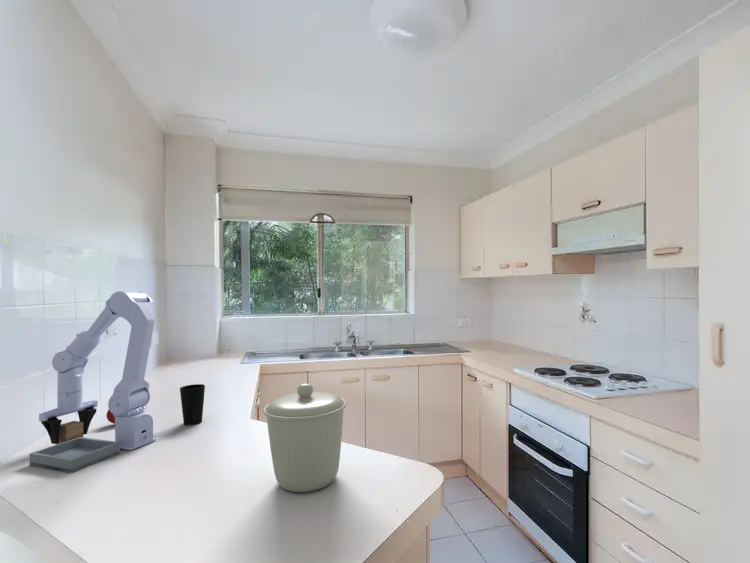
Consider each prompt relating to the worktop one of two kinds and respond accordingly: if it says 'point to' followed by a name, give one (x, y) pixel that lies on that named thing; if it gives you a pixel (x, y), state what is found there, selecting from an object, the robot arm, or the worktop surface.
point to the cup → (192, 403)
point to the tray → (74, 454)
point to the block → (70, 431)
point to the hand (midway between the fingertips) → (69, 438)
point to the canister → (305, 438)
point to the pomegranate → (110, 417)
